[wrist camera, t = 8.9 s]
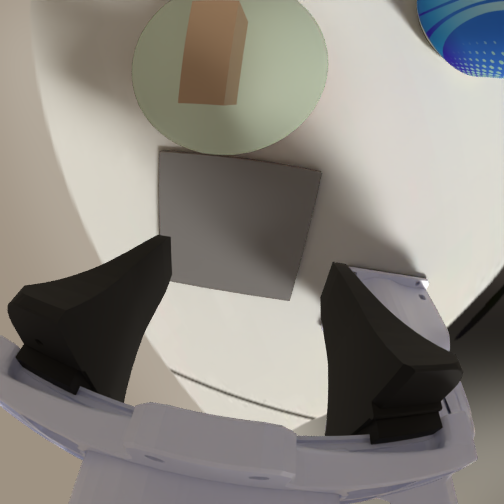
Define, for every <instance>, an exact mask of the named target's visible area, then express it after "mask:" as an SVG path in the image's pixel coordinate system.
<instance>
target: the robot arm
mask: <svg viewBox="0 0 504 504" xmlns="http://www.w3.org/2000/svg"><path fill="white" fill-rule="evenodd" d="M354 272H356V273H354ZM171 276H172V258H171V237H169V236H163V235H157V236H155V237H153V238H151V239H149V240H147V241H145V242H144V243H142V244H140V245H138V246H137V247H135V248H133V249H131V250H130V251H128V252H126V253H124V254H122V255H120V256H118V257H116V258H115V259H113V260H111V261H109V262H107V263H105V264H102V265H100V266H98V267H95V268H93V269H91V270H88V271H85V272H82V273H79V274H77V275H73V276H70V277H67V278H63V279H60V280H55V281H51V282H46V283H40V284H33V285H26V286H24V287H23V288H22V289H21V290H20V291H19V292H18V294H17V295H16V296H15V297H14V298H13V300H12V301H11V302H10V303H9V304H8V314H9V318H10V319H11V322H12V324H13V326H14V327H15V329H16V331H17V333H18V334H19V336H20V338H21V340H22V341H23V343H24V345H23V347H22V348H21V349H20V348H19V347H18V346H17V345H16V344H15V343H13V342H11V341H10V340H8V339H7V338H5V337H3V336H0V406H1V407H2V408H3V409H5V410H6V411H7V412H8V413H10V414H11V415H12V416H14V417H15V418H16V419H18V420H19V421H20V422H22V423H23V424H25V425H26V426H27V427H29V428H30V429H32V430H33V431H34V432H36V433H37V434H39V435H40V436H42V437H44V438H45V439H47V440H48V441H50V442H51V443H53V444H55V445H56V446H58V447H60V448H61V449H63V450H65V451H66V452H68V453H70V454H72V455H74V456H76V457H77V458H79V459H81V460H83V462H82V465H81V467H80V470H79V473H78V476H77V479H76V482H75V485H74V488H73V491H72V495H71V497H70V501H69V504H350V503H356V502H362V501H368V500H372V499H377V498H378V499H382V500H385V501H388V502H390V504H458V501H457V497H456V493H455V489H454V485H453V481H452V477H451V475H452V474H453V473H455V472H457V471H459V470H461V469H463V468H465V467H467V466H468V465H470V464H471V463H474V462H475V461H477V459H478V457H477V452H476V448H475V445H474V440H473V438H474V436H475V429H474V424H473V421H472V417H471V410H470V407H469V404H468V401H467V397H466V395H465V392H464V389H463V387H462V384H461V381H460V380H461V378H462V375H463V370H462V368H461V366H460V363H459V360H458V358H457V356H456V355H455V354H453V353H452V352H450V351H449V350H450V339H449V333H448V330H447V328H446V326H445V324H444V322H443V320H442V318H441V316H440V314H439V312H438V310H437V309H436V307H435V305H434V303H433V301H432V299H431V298H430V296H429V294H428V292H427V291H426V289H427V287H428V285H429V281H428V279H426V278H419V277H413V276H407V275H400V274H394V273H388V272H381V271H375V270H369V269H362V268H356V267H348V266H347V265H346V264H341V263H335V262H333V263H332V266H331V269H330V272H329V275H328V278H327V281H326V283H325V286H324V289H323V292H322V295H321V297H320V298H321V320H322V326H321V329H322V331H323V332H324V339H325V345H326V351H327V359H328V408H327V421H326V426H325V436H297V435H296V433H294V432H293V431H292V430H290V429H288V428H286V427H284V426H282V425H276V424H271V423H266V422H259V421H250V420H243V419H236V418H229V417H223V416H217V415H211V414H206V413H201V412H196V411H191V410H187V409H183V408H178V407H174V406H170V405H165V404H158V403H153V402H149V403H143V404H139V405H136V406H135V407H134V406H131V405H128V404H125V403H124V399H125V394H126V390H127V386H128V381H129V378H130V374H131V370H132V367H133V364H134V361H135V358H136V354H137V351H138V349H139V346H140V343H141V340H142V337H143V335H144V333H145V330H146V328H147V326H148V324H149V322H150V320H151V319H152V317H153V315H154V313H155V311H156V309H157V307H158V305H159V304H160V302H161V300H162V298H163V296H164V294H165V292H166V290H167V287H168V284H169V282H170V279H171ZM416 282H417V283H416Z"/></svg>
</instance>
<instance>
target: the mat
mask: <svg viewBox="0 0 504 504" xmlns="http://www.w3.org/2000/svg"><path fill="white" fill-rule="evenodd" d="M321 174H322V173H321V171H317V170H312V169H307V168H301V167H296V166H290V165H285V164H279V163H272V162H266V161H259V160H252V159H245V158H238V157H229V156H221V155H212V154H202V153H190V152H178V151H163V150H162V151H160V154H159V219H160V235H163V236H169V237H171V258H172V276H171V279H170V281H172V282H177V283H182V284H188V285H193V286H199V287H204V288H210V289H216V290H222V291H228V292H234V293H240V294H246V295H253V296H259V297H266V298H273V299H280V300H287V301H290V298H291V294H292V291H293V287H294V283H295V280H296V276H297V272H298V269H299V265H300V261H301V257H302V254H303V250H304V246H305V242H306V238H307V234H308V230H309V226H310V222H311V218H312V214H313V209H314V205H315V201H316V196H317V192H318V188H319V183H320V179H321Z"/></svg>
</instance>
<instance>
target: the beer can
mask: <svg viewBox="0 0 504 504" xmlns="http://www.w3.org/2000/svg"><path fill="white" fill-rule="evenodd" d="M417 13H418V17H419V22H420V25H421V28H422V30H423V32H424V34H425V36H426V38H427V40H428V41H429V43H430V44H431V45H432V47H433V48H434V49H435V50H436V51H437V52H438V53H439V54H440V55H441V56H442V58H443V59H444V60H446V61H447V62H448V63H449V64H450V65H451V66H453V67H454V68H455V69H457V70H458V71H460V72H462V73H464V74H467V75H470V76H476V77H493V78H504V0H417Z"/></svg>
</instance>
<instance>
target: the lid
mask: <svg viewBox="0 0 504 504" xmlns="http://www.w3.org/2000/svg"><path fill="white" fill-rule="evenodd" d="M327 73H328V53H327V48H326V43H325V39H324V37H323V34H322V32H321V30H320V28H319V26H318V24H317V23H316V21H315V19H314V18H313V17H312V15H311V14H310V13H309V12H308V11H307V9H306V8H305V7H304V6H302V5H301V4H300V3H299V2H298V1H297V0H171V1H169V2H168V3H167V4H165V5H164V6H163V7H162V8H161V9H160V10H159V11H158V12H157V13H156V14H155V15H154V16H153V18H152V19H151V20H150V21H149V23H148V24H147V26H146V27H145V29H144V30H143V32H142V34H141V36H140V38H139V40H138V43H137V46H136V49H135V52H134V57H133V62H132V82H133V88H134V92H135V96H136V99H137V101H138V104H139V106H140V108H141V110H142V111H143V113H144V115H145V116H146V118H147V119H148V120H149V122H150V123H151V124H152V125H153V126H154V127H155V128H156V129H157V130H158V131H159V132H160V133H161V134H163V135H164V136H165V137H167V138H168V139H169V140H171V141H173V142H175V143H176V144H178V145H180V146H183V147H185V148H187V149H190V150H194V151H197V152H200V153H206V154H212V155H235V154H242V153H248V152H252V151H255V150H259V149H262V148H265V147H267V146H269V145H271V144H274V143H276V142H278V141H279V140H281V139H283V138H284V137H286V136H287V135H289V134H290V133H291V132H293V131H294V130H295V129H297V128H298V127H299V126H300V125H301V124H302V123H303V122H304V121H305V120H306V119H307V117H308V116H309V115H310V113H311V112H312V111H313V110H314V108H315V106H316V104H317V103H318V101H319V99H320V97H321V95H322V92H323V90H324V87H325V83H326V79H327Z"/></svg>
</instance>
